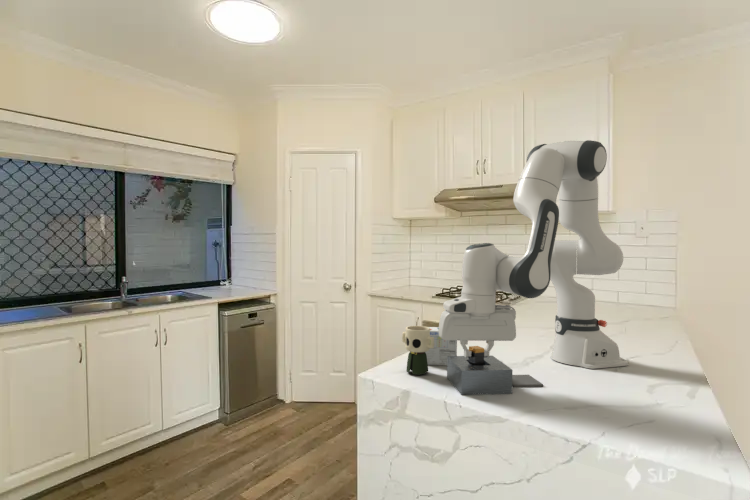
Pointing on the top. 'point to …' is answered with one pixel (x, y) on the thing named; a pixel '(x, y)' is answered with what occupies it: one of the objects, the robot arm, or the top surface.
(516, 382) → the mat
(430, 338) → the character mug
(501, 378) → the block
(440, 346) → the light bulb box
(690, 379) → the top surface
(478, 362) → the block
